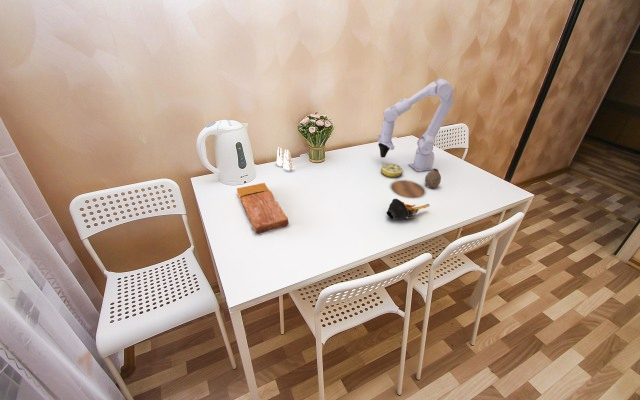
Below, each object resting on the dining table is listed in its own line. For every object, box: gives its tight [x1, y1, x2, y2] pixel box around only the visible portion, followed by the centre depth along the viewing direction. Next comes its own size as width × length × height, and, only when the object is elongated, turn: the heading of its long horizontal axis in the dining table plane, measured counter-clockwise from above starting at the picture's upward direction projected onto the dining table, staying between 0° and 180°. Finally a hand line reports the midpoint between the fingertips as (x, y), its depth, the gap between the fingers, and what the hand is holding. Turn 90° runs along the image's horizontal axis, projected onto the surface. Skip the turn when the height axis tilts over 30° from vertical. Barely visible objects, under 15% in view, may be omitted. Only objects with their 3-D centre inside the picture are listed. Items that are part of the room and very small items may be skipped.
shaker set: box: [276, 146, 296, 172], centre depth 146 cm, size 12×4×11 cm, turn 38°
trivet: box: [391, 180, 425, 199], centre depth 135 cm, size 15×15×1 cm
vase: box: [424, 168, 442, 189], centre depth 136 cm, size 7×7×9 cm
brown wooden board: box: [236, 182, 289, 235], centre depth 117 cm, size 13×30×3 cm, turn 26°
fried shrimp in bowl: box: [386, 198, 430, 221], centre depth 116 cm, size 9×11×18 cm
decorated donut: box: [380, 163, 404, 178], centre depth 146 cm, size 10×11×4 cm
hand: (382, 156), depth 153 cm, fingers closed
